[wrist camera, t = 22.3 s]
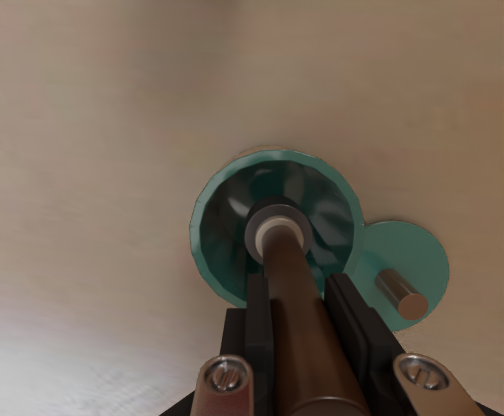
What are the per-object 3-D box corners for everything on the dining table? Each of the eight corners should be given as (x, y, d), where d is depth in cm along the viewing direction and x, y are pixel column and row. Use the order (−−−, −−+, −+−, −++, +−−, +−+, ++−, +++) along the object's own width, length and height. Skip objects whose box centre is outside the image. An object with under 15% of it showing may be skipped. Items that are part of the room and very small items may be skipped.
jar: (214, 257, 31) (195, 316, 21) (209, 146, 28) (183, 151, 18) (323, 255, 31) (358, 315, 21) (328, 144, 28) (371, 148, 18)
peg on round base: (246, 252, 22) (227, 513, 7) (245, 195, 21) (220, 353, 6) (304, 251, 22) (417, 514, 7) (305, 194, 21) (443, 352, 6)
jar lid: (321, 326, 33) (337, 369, 27) (326, 219, 30) (345, 239, 24) (434, 325, 33) (474, 368, 27) (449, 217, 30) (499, 237, 24)
